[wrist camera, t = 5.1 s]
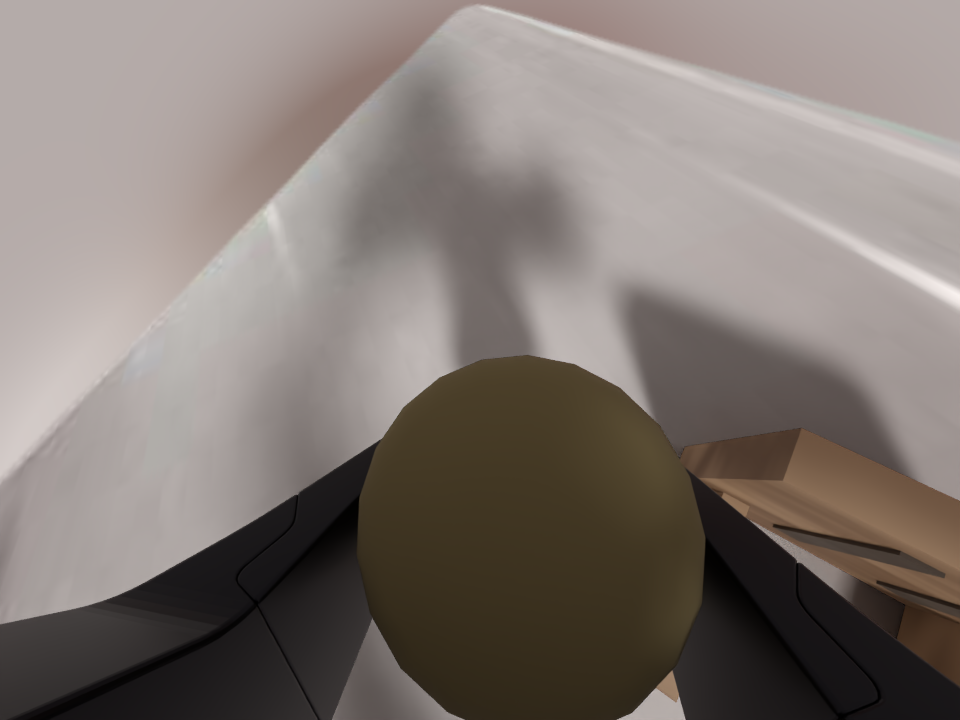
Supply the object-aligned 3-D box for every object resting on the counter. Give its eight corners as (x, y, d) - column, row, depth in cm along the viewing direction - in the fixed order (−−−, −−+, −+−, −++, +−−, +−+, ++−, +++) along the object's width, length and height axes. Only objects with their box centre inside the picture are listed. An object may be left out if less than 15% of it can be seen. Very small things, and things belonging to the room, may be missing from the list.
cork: (441, 435, 15) (275, 356, 5) (570, 403, 15) (667, 252, 5) (468, 586, 13) (282, 955, 3) (618, 552, 13) (961, 834, 3)
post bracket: (922, 856, 14) (1523, 1437, 6) (604, 631, 18) (677, 776, 9) (976, 598, 16) (1461, 732, 8) (685, 446, 20) (802, 428, 12)
